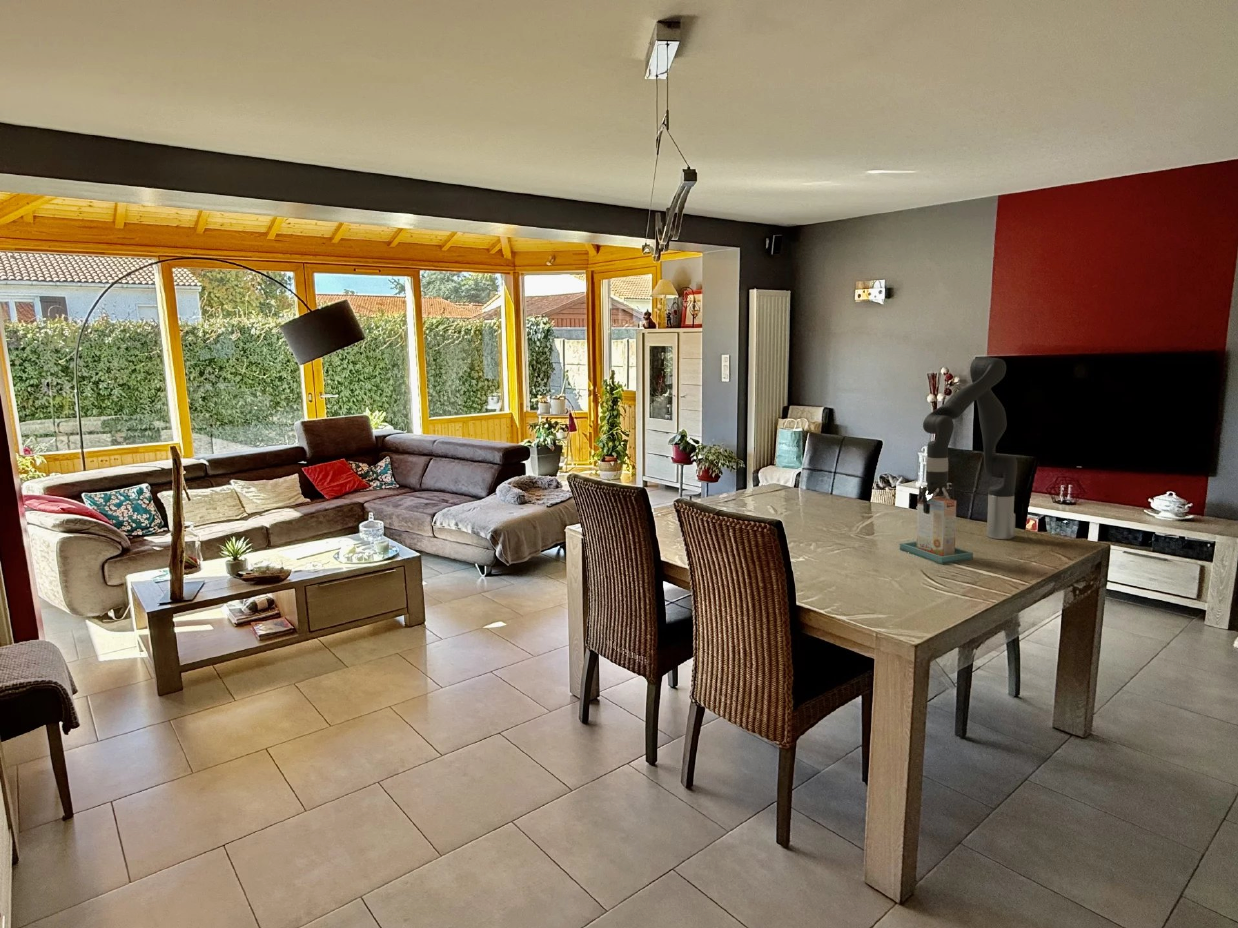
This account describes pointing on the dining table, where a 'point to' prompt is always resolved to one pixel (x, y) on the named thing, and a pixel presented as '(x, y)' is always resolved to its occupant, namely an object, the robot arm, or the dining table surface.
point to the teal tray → (912, 549)
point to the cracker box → (937, 527)
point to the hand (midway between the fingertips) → (936, 512)
